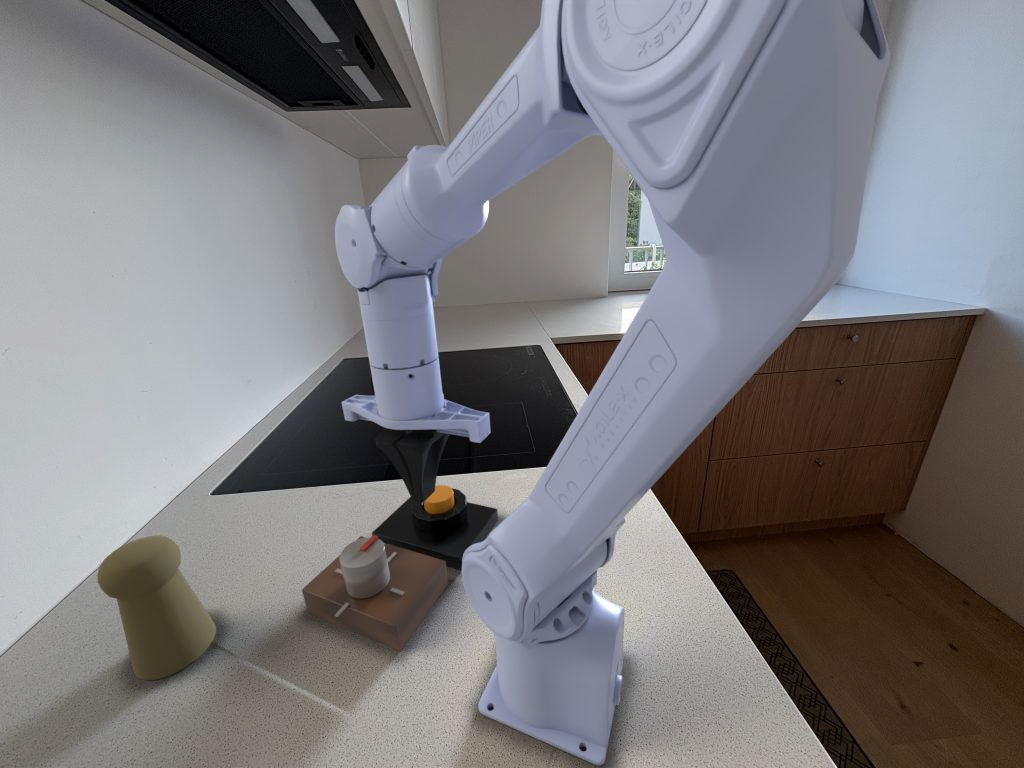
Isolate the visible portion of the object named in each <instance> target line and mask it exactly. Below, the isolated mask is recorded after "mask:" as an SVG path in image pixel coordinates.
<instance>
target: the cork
mask: <svg viewBox="0 0 1024 768" xmlns="http://www.w3.org/2000/svg"><path fill="white" fill-rule="evenodd" d="M181 556H182V555H181V549H180V547H179V545H178V544H177V543H176V542H175V540H173V539H172V538H169V537H167V536H166V535H160V534H159V535H147V536H145V537H139V538H137V539H135V540H131V541H129V542H127V543H125V544H123V545H121V546H120V547H118V548H117V549H115V550H114V551H112V552H111V553H110V554H108V555H107V556H106V557H105V558H104V559H103V561H102V562H101V563H100V565H99V568H98V571H97V577H96V578H97V584H98V585H99V588H100V589H101V590H102V592H103V594H105V595H106V596H107V597H109V598H112V599H116V602H117V606H118V610H119V616H120V620H121V623H122V628H123V632H124V636H125V640H126V646H127V649H128V652H129V657H130V662H131V667H132V669H133V670H132V671H133V673H134V675H135V676H136V677H137V678H138V679H141V680H143V681H157V680H160V679H163V678H167V677H169V676H172V675H174V674H176V673H178V672H180V671H181V670H183V669H186V668H187V667H188V666H189V665H191V664H192V663H194V662H195V661H197V660H198V659H199V658H200V657H201V656H202V655H203V654H204V653H205V652H206V651H207V650H208V648H209V647H210V646H211V644H212V642H213V641H214V639H215V637H216V634H217V626H216V625H217V624H216V623H215V622H214V620H213V619H212V617H211V616H210V613H208V611H207V609H206V608H205V606H204V605H203V603H202V602H201V601H200V599H199V598H198V596H197V594H196V593H195V592H194V590H193V589H192V587H191V585H190V584H189V582H188V581H187V579H186V578H185V576H184V575H183V573H182V572H181V570H180V565H181V563H182V560H181V559H182V557H181Z"/></svg>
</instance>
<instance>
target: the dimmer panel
mask: <svg viewBox="0 0 1024 768" xmlns="http://www.w3.org/2000/svg"><path fill="white" fill-rule="evenodd" d="M361 538H366V536H362V535H361V536H359V537H358V538H357V539H356V540H358V539H361ZM384 546H385V551H386V556H387V561H388V567H389V572H390V580H389V582H388V584H387V586H386V587H385V588H384V589H383V590H382V591H381V592H379V593H378V594H376V595H374V596H372V597H369V598H364V599H358V598H354V597H352V596H350V595H349V594H348V592H347V590H346V586H345V581H344V577H343V573H342V569H341V565H340V560H339V558H340V554H339V555H338V556H337V557H336V558H335V559H334V560H333V561H331V562H330V563H329V564H328V565H327V566H325V568H324V569H322V571H321V572H320V573H318V575H316V576H315V577H314V578H312V579H311V581H309V583H307V584H306V585H305V586H304V587H302V589H301V591H302V592H301V593H302V596H303V600H304V603H305V607H306V611H307V614H309V615H311V616H314V617H316V618H318V619H321V620H323V621H326V622H327V623H330V624H332V625H335V626H337V627H341V628H343V629H344V630H348V631H349V632H352V633H354V634H357V635H360V636H362V637H364V638H367V639H369V640H372V641H374V642H376V643H379V644H381V645H384V646H385V647H388V648H390V649H392V650H395V651H398V652H402V650H403V648H404V647H405V646H406V645H407V643H408V642H409V640H410V639H411V637H412V636H413V634H414V633H415V632H416V631H417V629H418V627H419V626H420V625H421V623H422V622H423V621H424V619H425V618H426V617H427V615H428V613H429V612H430V611H431V609H432V608H433V607H434V605H435V604H436V603H437V601H438V599H439V598H440V597H441V595H442V594H443V592H444V591H445V590H446V588H447V587H448V585H449V578H448V577H449V575H448V570H447V566H446V561H444V560H440V559H437V558H434V557H430V556H427V555H423V554H420V553H417V552H413V551H410V550H407V549H403V548H400V547H397V546H393V545H390V544H386V543H384Z"/></svg>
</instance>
